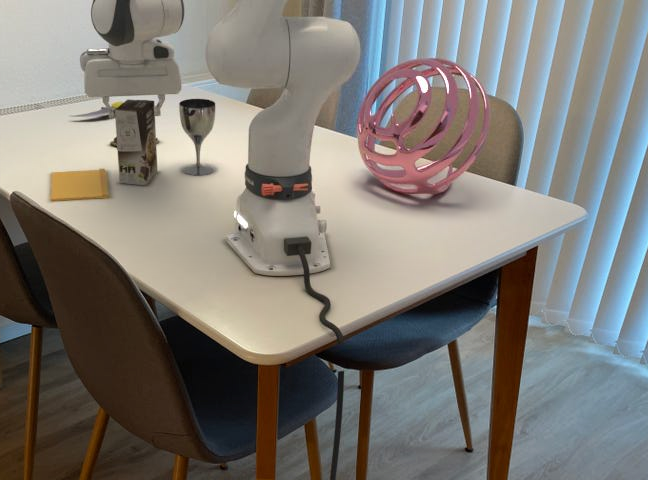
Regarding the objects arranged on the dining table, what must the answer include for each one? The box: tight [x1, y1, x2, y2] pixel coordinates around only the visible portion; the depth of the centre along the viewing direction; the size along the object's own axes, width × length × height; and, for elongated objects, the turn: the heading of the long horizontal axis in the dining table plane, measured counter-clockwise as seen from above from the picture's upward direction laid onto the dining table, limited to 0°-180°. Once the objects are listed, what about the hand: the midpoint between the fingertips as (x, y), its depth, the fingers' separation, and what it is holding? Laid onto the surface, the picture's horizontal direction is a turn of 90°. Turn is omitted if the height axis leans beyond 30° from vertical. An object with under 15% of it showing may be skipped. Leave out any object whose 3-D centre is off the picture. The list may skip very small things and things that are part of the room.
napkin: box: [50, 168, 110, 202], centre depth 168 cm, size 16×12×1 cm
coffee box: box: [114, 99, 158, 186], centre depth 168 cm, size 9×6×16 cm
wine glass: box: [178, 98, 216, 176], centre depth 173 cm, size 8×8×15 cm
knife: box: [69, 100, 124, 118], centre depth 212 cm, size 8×3×25 cm
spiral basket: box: [356, 57, 492, 196], centre depth 164 cm, size 28×28×27 cm
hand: (134, 116), depth 165 cm, fingers open, 8 cm apart
